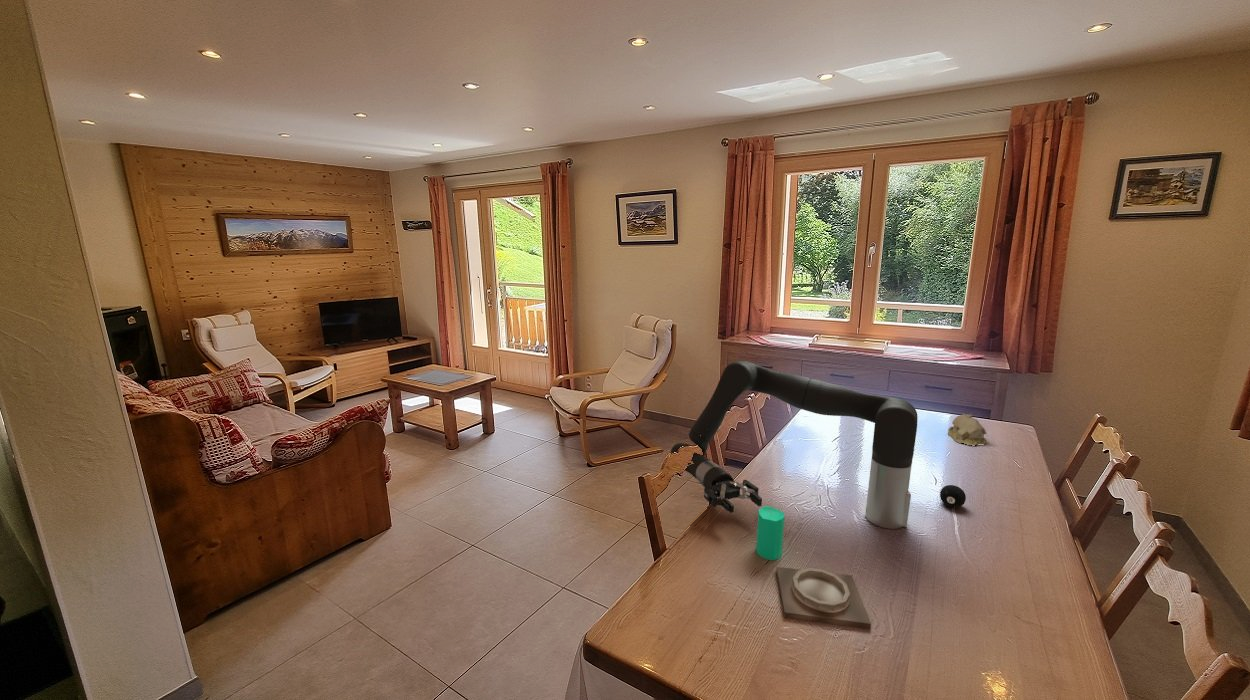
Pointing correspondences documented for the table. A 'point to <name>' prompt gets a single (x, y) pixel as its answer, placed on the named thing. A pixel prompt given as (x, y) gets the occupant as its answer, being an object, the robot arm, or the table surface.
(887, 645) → the table surface
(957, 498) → the billiard ball
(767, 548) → the candle
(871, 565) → the table surface
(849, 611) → the holder
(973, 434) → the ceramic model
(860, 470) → the table surface
